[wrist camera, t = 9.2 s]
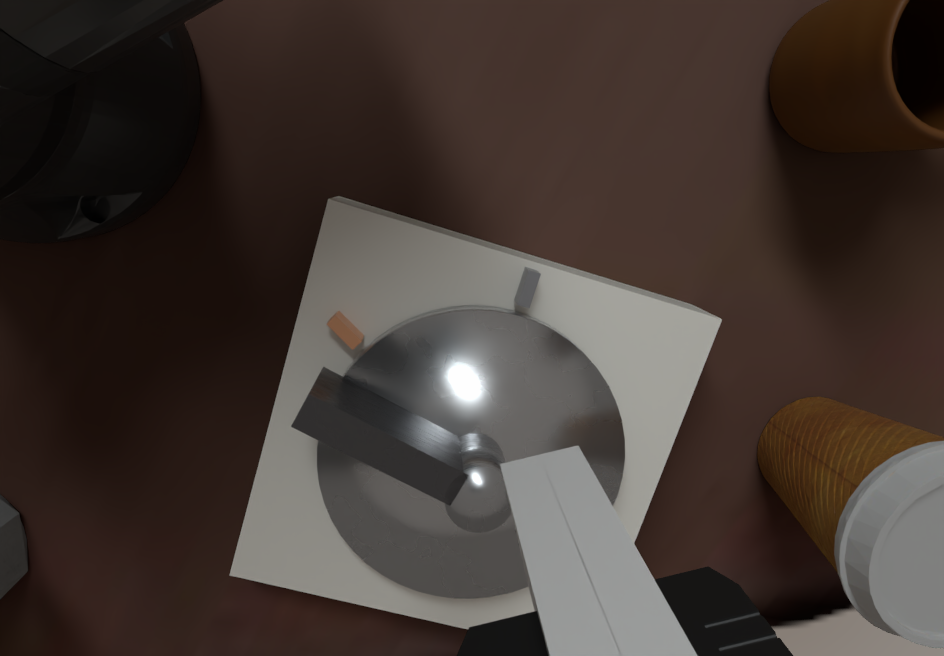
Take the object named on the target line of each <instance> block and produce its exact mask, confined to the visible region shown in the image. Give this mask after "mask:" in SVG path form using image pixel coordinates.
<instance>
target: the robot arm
mask: <svg viewBox="0 0 944 656" xmlns="http://www.w3.org/2000/svg"><path fill="white" fill-rule="evenodd" d="M221 1H223V0H0V239H3V240H9V241H17V242H27V243H54V242H62V241H69V240H74V239H80V238H85V237H90V236H95V235H99V234H103V233H106V232H109V231H111V230H114V229H117V228H119V227H121V226H123V225H126V224H127V223H129V222H131V221H133V220H135V219H136V218H138V217H139V216H141V215H142V214H144V213H145V212H146V211H148V210H149V209H150V208H151V207H153V206H154V205H155V204H156V203H157V202H158V201H159V200H160V199H161V198H162V197H163V196H164V195H165V194H166V193H167V192H168V190H169V189H170V188H171V187H172V185H173V184H174V183H175V181H176V180H177V178H178V177H179V175H180V173H181V172H182V170H183V168H184V166H185V164H186V162H187V160H188V157H189V155H190V153H191V150H192V147H193V144H194V141H195V137H196V133H197V128H198V123H199V115H200V98H201V96H200V80H199V72H198V67H197V61H196V57H195V53H194V50H193V46H192V43H191V40H190V37H189V35H188V32H187V30H186V27H185V25H184V22H186V21H188V20H189V19H191V18H193V17H195V16H197V15H198V14H200V13H202V12H204V11H205V10H207V9H209V8H211V7H212V6H214V5H216V4H218V3H219V2H221ZM500 466H501V470H502V475H503V479H504V483H505V488H506V492H507V496H508V501H509V505H510V509H511V513H512V518H513V522H514V526H515V531H516V535H517V539H518V543H519V548H520V552H521V556H522V561H523V565H524V569H525V573H526V578H527V582H528V586H529V591H530V595H531V599H532V603H533V606H534V610H535V611H534V612H530V613H526V614H522V615H518V616H514V617H510V618H505V619H501V620H497V621H493V622H489V623H485V624H481V625H477V626H473V627H469V629H468V631H467V634H466V636H465V638H464V641H463V643H462V645H461V648H460V650H459V652H458V654H457V656H793V655H792V654H791V652H790V651H789V650H788V648H787V647H786V646H785V645H784V643H783V642H782V640H781V639H780V638H777V636H776V633H775V631H774V630H773V629H772V627H771V626H770V625H769V623H768V622H767V621H766V620H765V618H764V617H763V616H760V614H759V610H758V609H757V608H756V606H755V605H754V604H753V603H752V601H751V600H750V599H749V597H748V596H747V595H746V593H745V592H744V591H743V589H742V588H741V587H740V586H739V584H737V583H735V582H733V581H732V580H730V579H728V578H727V577H725V576H723V575H722V574H720V573H718V572H717V571H715V570H713V569H712V568H710V567H705V568H700V569H696V570H692V571H688V572H684V573H680V574H676V575H672V576H667V577H663V578H659V579H655V580H654V578H653V576H652V575H651V573H650V571H649V569H648V567H647V566H646V564H645V562H644V560H643V559H642V557H641V555H640V553H639V552H638V550H637V548H636V546H635V545H634V543H633V541H632V539H631V538H630V536H629V534H628V532H627V530H626V529H625V527H624V525H623V523H622V522H621V520H620V518H619V516H618V515H617V513H616V511H615V509H614V508H613V506H612V504H611V502H610V500H609V499H608V497H607V495H606V493H605V492H604V490H603V488H602V486H601V485H600V483H599V481H598V479H597V478H596V476H595V474H594V472H593V470H592V469H591V467H590V465H589V463H588V462H587V460H586V458H585V456H584V455H583V453H582V451H581V449H580V448H579V446H573V447H569V448H565V449H561V450H557V451H552V452H548V453H544V454H540V455H536V456H532V457H527V458H523V459H519V460H515V461H511V462H506V463H502V464H500Z"/></svg>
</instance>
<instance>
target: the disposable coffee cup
mask: <svg viewBox="0 0 944 656" xmlns="http://www.w3.org/2000/svg"><path fill="white" fill-rule="evenodd" d="M757 457H758V463H759V467H760V469H761V472H762V474H763V476H764V478H765V479H766V480H767V482H768V483H769V484H770V485H771V487H772V488H773V489H774V490H775V492H776V493H777V494H778V496H779V497H780V498H781V500H782V501H783V502H784V503H785V505H786V506H787V507H788V509H789V510H790V511H791V513H792V514H793V515H794V517H795V518H796V519H797V520H798V522H799V523H800V524H801V526H802V527H803V528H804V530H805V531H806V532H807V533H808V535H809V536H810V537H811V539H812V540H813V541H814V542H815V544H816V545H817V546H818V548H819V549H820V550H821V552H822V553H823V554H824V556H825V557H826V558H827V559H828V561H829V562H830V563H831V565H832V566H833V567H834V569H835V570H836V571H837V573H838V575H839V578H840V580H841V583H842V586H843V589H844V592H845V594H846V595H847V597H848V599H849V600H850V602H851V603H852V605H853V606H854V607H855V609H856V610H857V611H858V612H859V613H860V614H861V615H862V616H863V617H864V618H865V619H866V620H868V621H869V622H870V623H871V624H873V625H874V626H876V627H878V628H880V629H882V630H884V631H886V632H888V633H891V634H894V635H898V636H901V637H903V638H905V639H907V640H910V641H912V642H914V643H916V644H920V645H924V646H928V647H932V648H944V438H943V437H941V436H938V435H934V434H931V433H929V432H926V431H924V430H920V429H917V428H914V427H911V426H908V425H905V424H902V423H899V422H896V421H893V420H890V419H887V418H885V417H882V416H878V415H875V414H873V413H869V412H866V411H864V410H861V409H858V408H855V407H852V406H849V405H846V404H843V403H840V402H837V401H835V400H832V399H829V398H823V397H808V398H804V399H800V400H797V401H795V402H793V403H791V404H789V405H787V406H785V407H784V408H782V409H781V410H779V411H778V412H777V413H776V414H775V415H774V416H773V417H772V418H771V419H770V421H769V422H768V424H767V425H766V427H765V428H764V430H763V432H762V434H761V436H760V440H759V444H758V453H757Z"/></svg>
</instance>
